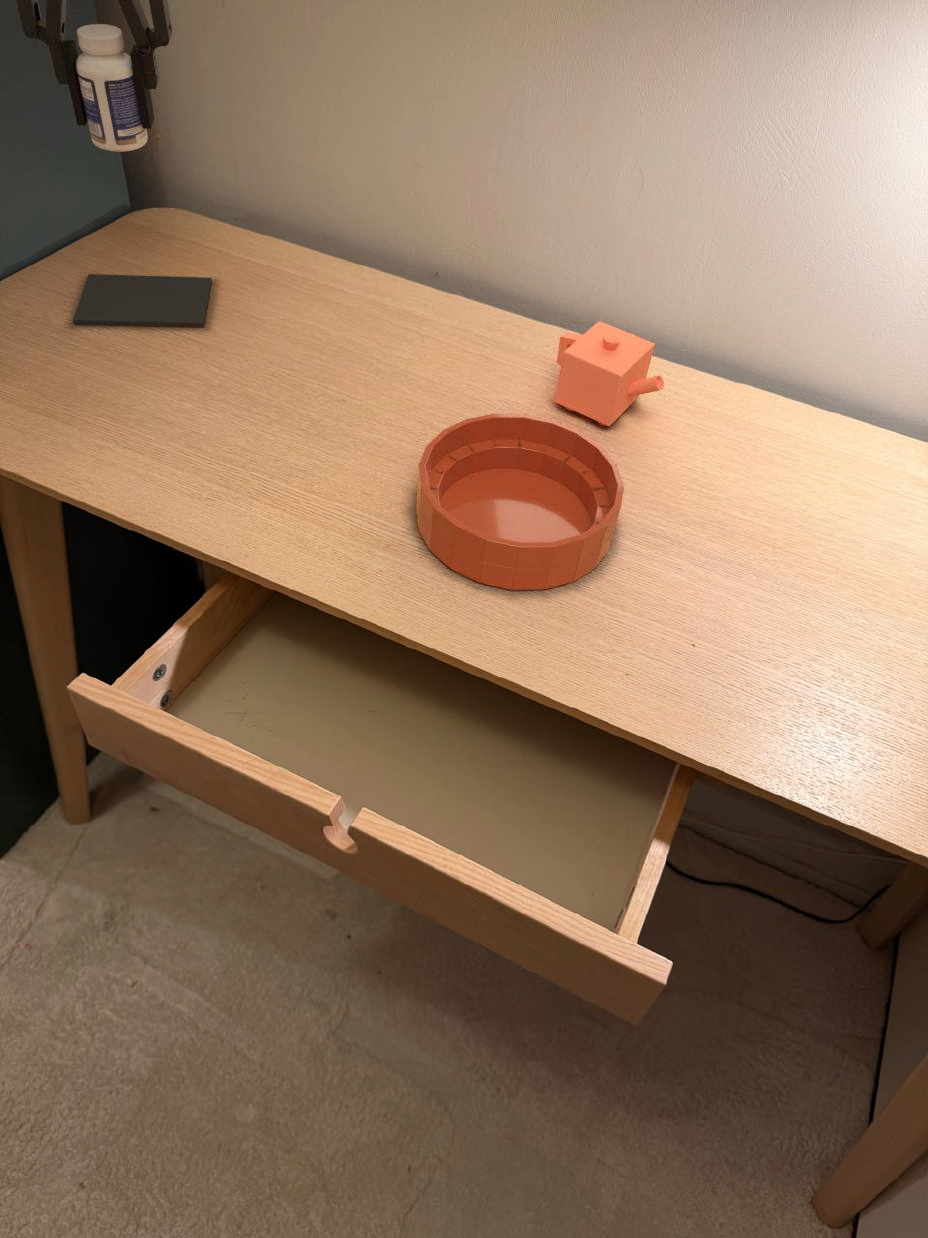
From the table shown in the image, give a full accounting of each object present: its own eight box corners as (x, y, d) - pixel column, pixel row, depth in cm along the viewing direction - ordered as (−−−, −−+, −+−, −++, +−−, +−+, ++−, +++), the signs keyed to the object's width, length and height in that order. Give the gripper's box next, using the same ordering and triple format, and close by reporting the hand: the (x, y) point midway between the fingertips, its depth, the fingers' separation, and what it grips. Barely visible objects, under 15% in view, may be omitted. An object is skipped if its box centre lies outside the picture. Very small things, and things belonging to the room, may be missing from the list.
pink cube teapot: (634, 446, 94) (653, 378, 88) (535, 401, 98) (547, 333, 92) (666, 411, 99) (686, 344, 92) (570, 370, 102) (584, 303, 96)
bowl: (423, 593, 78) (426, 547, 74) (411, 458, 90) (413, 412, 86) (629, 590, 80) (643, 546, 76) (590, 459, 92) (601, 414, 88)
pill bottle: (153, 133, 93) (136, 23, 85) (142, 155, 89) (122, 42, 82) (99, 129, 92) (76, 18, 85) (85, 150, 89) (61, 37, 82)
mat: (74, 324, 100) (72, 319, 100) (89, 278, 107) (88, 273, 106) (204, 327, 102) (203, 322, 102) (212, 281, 109) (211, 277, 108)
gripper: (182, -190, 76) (215, 111, 93) (-54, -211, 73) (26, 101, 91) (171, -173, 71) (209, 141, 88) (-82, -195, 68) (8, 132, 86)
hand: (116, 120), depth 89 cm, fingers closed on pill bottle, 5 cm apart
